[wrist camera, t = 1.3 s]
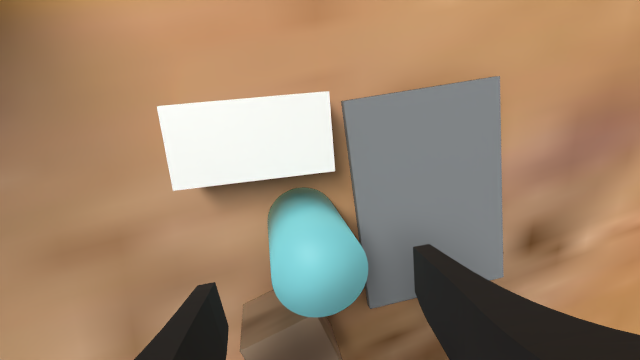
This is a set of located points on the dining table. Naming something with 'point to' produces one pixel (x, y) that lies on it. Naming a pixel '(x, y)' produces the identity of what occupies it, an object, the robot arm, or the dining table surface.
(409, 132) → the mat
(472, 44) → the dining table surface
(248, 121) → the offwhite brick
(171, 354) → the robot arm
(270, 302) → the walnut cube
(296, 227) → the teal capsule
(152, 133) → the dining table surface
